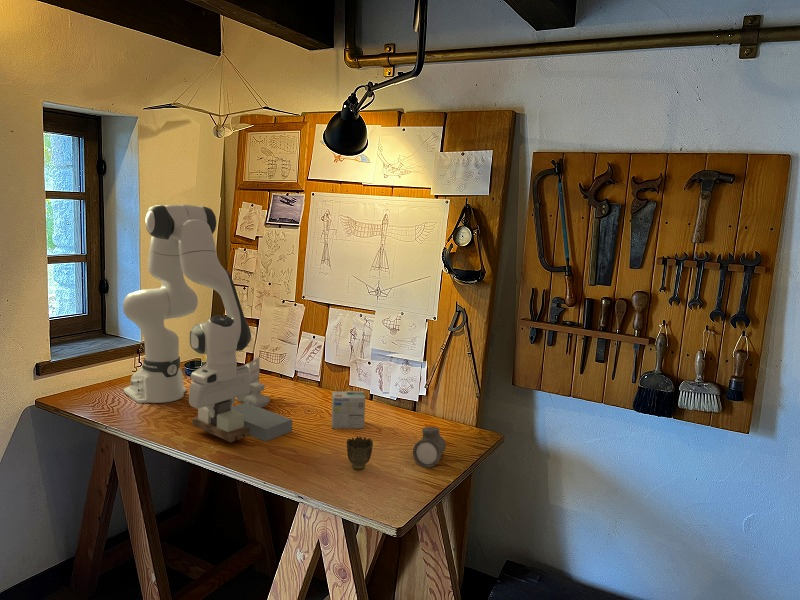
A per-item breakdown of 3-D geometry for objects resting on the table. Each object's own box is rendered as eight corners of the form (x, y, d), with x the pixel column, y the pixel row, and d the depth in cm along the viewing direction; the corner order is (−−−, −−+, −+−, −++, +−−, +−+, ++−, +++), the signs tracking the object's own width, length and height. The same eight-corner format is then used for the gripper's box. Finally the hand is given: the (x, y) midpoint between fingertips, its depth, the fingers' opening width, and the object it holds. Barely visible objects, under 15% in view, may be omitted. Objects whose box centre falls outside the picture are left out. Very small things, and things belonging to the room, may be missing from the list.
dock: (218, 422, 201) (218, 410, 200) (245, 413, 210) (245, 402, 209) (265, 441, 189) (265, 429, 188) (291, 431, 198) (292, 419, 197)
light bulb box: (362, 421, 210) (364, 390, 208) (364, 428, 203) (366, 397, 201) (330, 421, 208) (331, 390, 206) (331, 429, 201) (333, 397, 200)
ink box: (246, 393, 229) (247, 355, 227) (259, 395, 228) (260, 356, 226) (236, 401, 221) (236, 361, 218) (249, 402, 220) (249, 362, 217)
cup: (345, 462, 178) (346, 435, 177) (371, 462, 179) (372, 436, 177) (345, 474, 171) (346, 446, 169) (372, 474, 172) (373, 447, 170)
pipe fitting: (438, 470, 176) (439, 434, 175) (411, 466, 179) (412, 430, 178) (450, 458, 187) (451, 424, 187) (425, 455, 190) (426, 421, 189)
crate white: (197, 419, 191) (198, 406, 190) (214, 414, 196) (214, 402, 195) (208, 423, 188) (208, 411, 187) (224, 418, 193) (224, 406, 192)
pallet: (192, 425, 192) (192, 396, 190) (211, 419, 198) (211, 391, 196) (230, 442, 182) (231, 412, 180) (249, 435, 187) (249, 406, 186)
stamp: (253, 413, 211) (253, 389, 209) (239, 408, 214) (240, 385, 213) (272, 406, 218) (273, 383, 217) (259, 401, 222) (259, 379, 220)
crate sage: (216, 427, 186) (217, 414, 185) (232, 422, 191) (233, 409, 190) (227, 432, 183) (227, 419, 182) (243, 426, 188) (244, 414, 187)
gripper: (241, 361, 196) (240, 403, 199) (185, 375, 180) (185, 420, 182) (255, 366, 193) (254, 408, 195) (199, 380, 176) (199, 426, 179)
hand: (220, 414), depth 189 cm, fingers closed on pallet, 4 cm apart
